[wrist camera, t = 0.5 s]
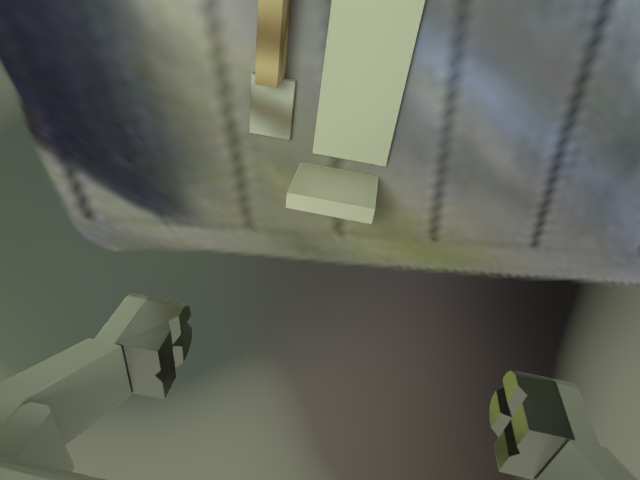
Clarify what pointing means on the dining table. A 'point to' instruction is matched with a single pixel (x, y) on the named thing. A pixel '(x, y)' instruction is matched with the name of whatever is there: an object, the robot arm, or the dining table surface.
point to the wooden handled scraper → (272, 73)
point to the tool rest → (365, 77)
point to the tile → (333, 192)
